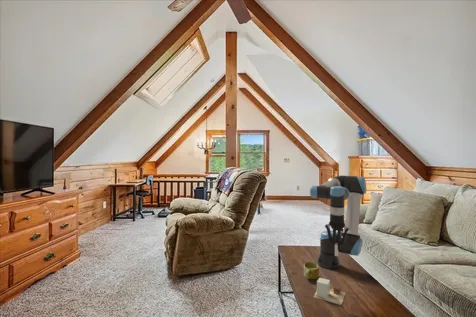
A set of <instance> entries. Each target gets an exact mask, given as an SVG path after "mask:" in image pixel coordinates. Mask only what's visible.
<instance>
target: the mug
mask: <svg viewBox="0 0 476 317" xmlns="http://www.w3.org/2000/svg"><path fill="white" fill-rule="evenodd" d="M319 275H320V266H319V265H318V264H317V262H313V261H307V262H304V264H303V276H304V277H306V279H311V280H316V279H317V280H318V279H319Z"/></svg>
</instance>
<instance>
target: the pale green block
mask: <svg viewBox="0 0 476 317" xmlns="http://www.w3.org/2000/svg"><path fill="white" fill-rule="evenodd" d="M330 287H331V280H330V279H326V278H324V277H318V278H317V280H316V291H317V296H319V297H323V298H326V299H327V298H328V296H329V294H330V289H331V288H330Z"/></svg>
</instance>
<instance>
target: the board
mask: <svg viewBox="0 0 476 317" xmlns="http://www.w3.org/2000/svg"><path fill="white" fill-rule="evenodd" d="M341 288H342V287H341V286H338V285H334V286H333V288H330V294H329V296H328V298H327V299H326V298H323V297H319V296H317V290H316V291H315V293H314V295H313V298H315V299H320V300H322V301H323V300H324V301H326V302H329V303H333V304H336V305H339V306H342V304H343V301H344V299H345V296H346V292H344V291H341Z"/></svg>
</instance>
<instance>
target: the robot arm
mask: <svg viewBox="0 0 476 317" xmlns="http://www.w3.org/2000/svg"><path fill="white" fill-rule="evenodd" d="M309 189H310V190H309V195H310V197H311V198H313V199H321V200H330V201H329V213H330V214H329V222H328V223H327V224H325V225H324V227H325V229H326V230H324V231H322V232H321V233H320V237H319V240H320V242H319V246H320V249H319V254H318V257H317V260H316V264H318V266H319V267H321V268H324V269H329V270H337V269H339V268H340V267H341V261H340V259H339V253H341V254H345V255H348V256H349V255H350V256H355V257H358V256H360V254H361V251H362V247H363V241H364V240H363V238H361V235H360V234H359V225H360V212H361V211H360V210H361V201H362V200H361V199H362V198H363V197H364V194H365V195H366V193H367V183H366V179H365V177H364V176H358V175H338V176H337V175H336V176H332V177H331V178H329V179H328V180H327V181H326V182H324V183H322V184H320V185H312V186H311V187H310V188H309ZM346 200H347V201H346ZM345 202H346V210H345ZM345 211H346V212H345ZM331 229H332V230H331ZM343 229H344V230H343ZM342 230H343V231H342Z"/></svg>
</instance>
